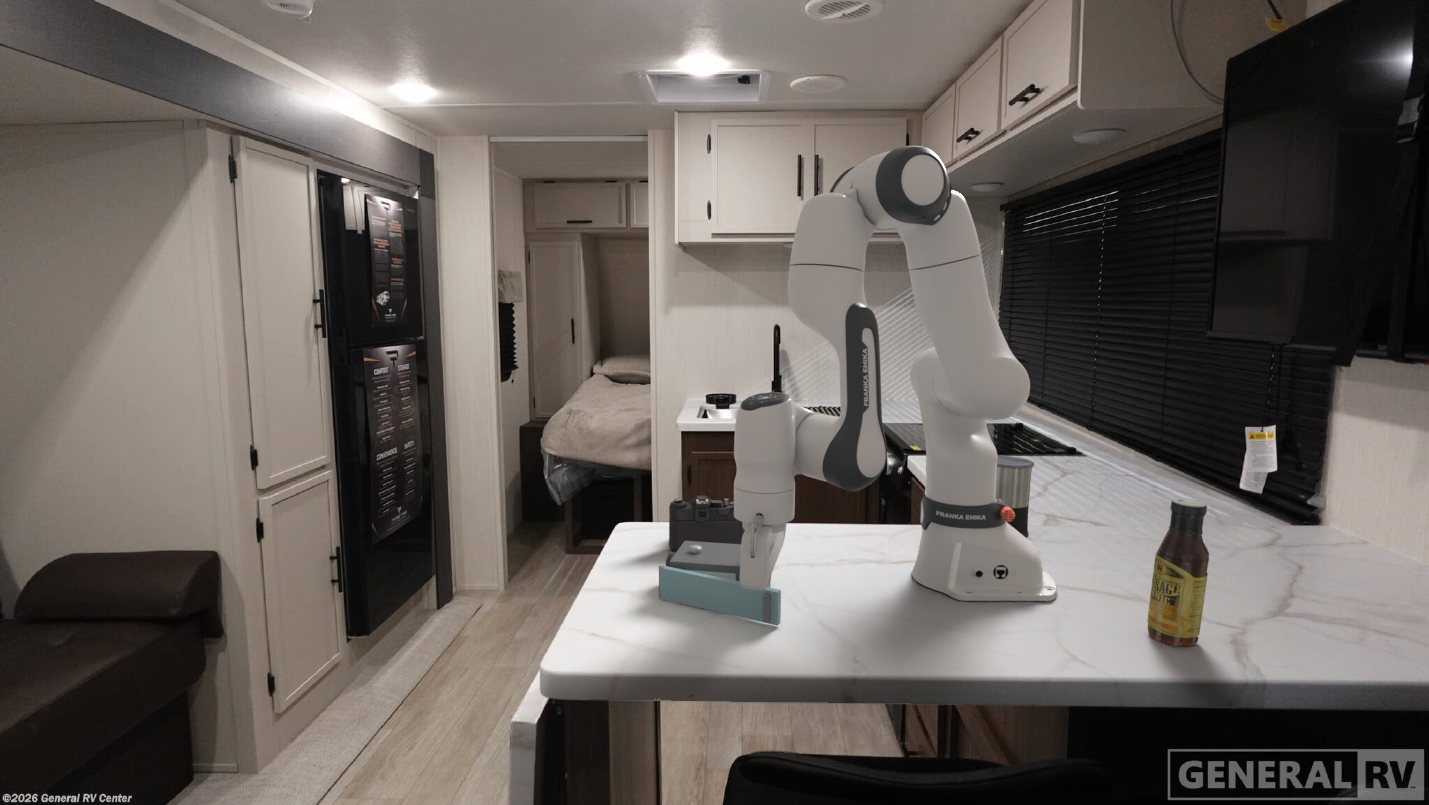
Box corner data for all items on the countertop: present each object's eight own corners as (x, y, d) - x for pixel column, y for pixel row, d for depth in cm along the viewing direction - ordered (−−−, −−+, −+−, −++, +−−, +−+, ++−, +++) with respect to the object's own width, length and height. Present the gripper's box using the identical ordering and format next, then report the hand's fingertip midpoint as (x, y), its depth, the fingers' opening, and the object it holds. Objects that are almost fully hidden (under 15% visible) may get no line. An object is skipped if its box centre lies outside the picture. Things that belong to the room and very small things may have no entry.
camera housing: (754, 579, 125) (755, 540, 124) (745, 604, 115) (745, 561, 114) (677, 573, 128) (676, 535, 127) (661, 597, 118) (660, 555, 117)
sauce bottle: (1136, 630, 106) (1148, 494, 103) (1177, 628, 107) (1190, 493, 104) (1167, 651, 100) (1181, 508, 97) (1211, 650, 100) (1226, 506, 98)
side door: (780, 623, 108) (780, 590, 107) (775, 628, 106) (775, 594, 105) (661, 595, 118) (660, 565, 117) (654, 599, 116) (654, 568, 115)
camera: (739, 534, 149) (739, 486, 147) (746, 553, 138) (747, 501, 137) (668, 536, 148) (667, 487, 146) (669, 555, 137) (669, 503, 135)
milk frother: (1023, 526, 153) (1028, 456, 151) (1042, 552, 138) (1047, 474, 136) (951, 522, 156) (955, 453, 154) (962, 548, 141) (966, 471, 139)
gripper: (776, 528, 98) (774, 628, 100) (793, 488, 118) (792, 572, 120) (728, 525, 99) (728, 623, 101) (754, 486, 119) (753, 569, 121)
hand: (763, 595), depth 111 cm, fingers closed
